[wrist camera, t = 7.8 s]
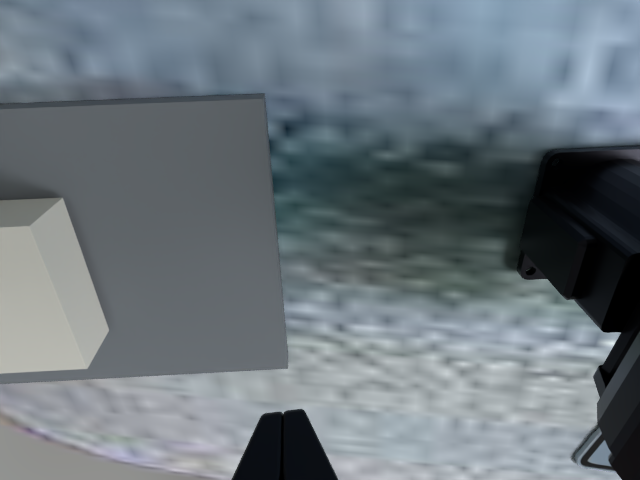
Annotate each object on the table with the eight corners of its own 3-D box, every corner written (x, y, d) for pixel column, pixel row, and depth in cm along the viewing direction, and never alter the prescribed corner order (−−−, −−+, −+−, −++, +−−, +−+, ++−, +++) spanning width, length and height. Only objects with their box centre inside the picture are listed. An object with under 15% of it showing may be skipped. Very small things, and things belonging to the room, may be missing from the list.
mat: (264, 93, 17) (263, 98, 16) (288, 355, 24) (287, 368, 23) (-162, 110, 17) (-187, 116, 16) (-15, 371, 24) (-27, 385, 23)
